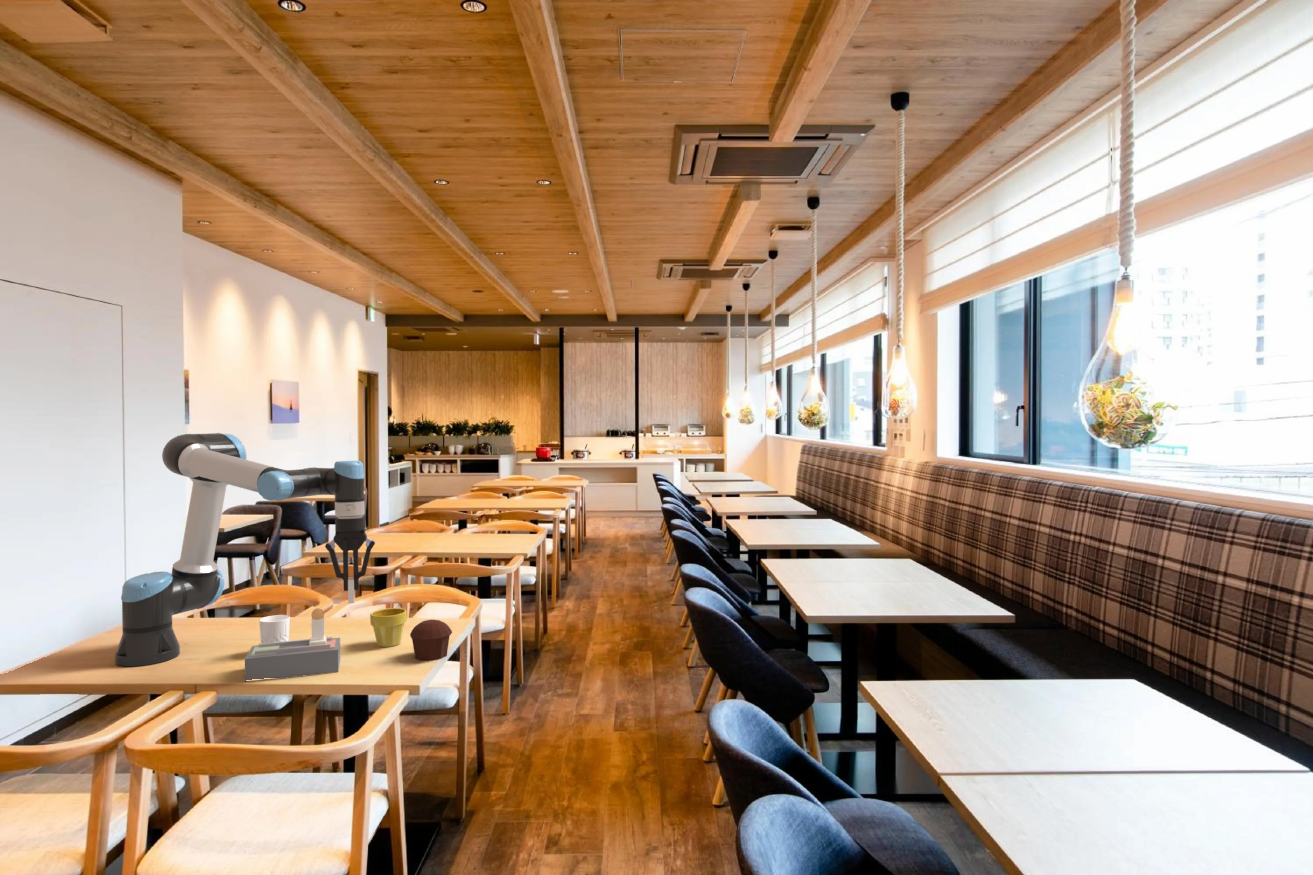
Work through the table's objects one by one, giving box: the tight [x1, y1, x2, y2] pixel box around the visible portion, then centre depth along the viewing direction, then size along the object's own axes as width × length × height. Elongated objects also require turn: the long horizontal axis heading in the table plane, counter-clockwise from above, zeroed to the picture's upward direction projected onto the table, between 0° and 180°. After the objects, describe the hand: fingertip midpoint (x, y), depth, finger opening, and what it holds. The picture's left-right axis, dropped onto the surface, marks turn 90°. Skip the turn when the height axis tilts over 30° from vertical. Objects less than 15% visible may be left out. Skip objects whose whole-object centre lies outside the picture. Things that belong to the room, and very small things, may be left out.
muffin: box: [409, 619, 453, 662], centre depth 210 cm, size 12×11×10 cm
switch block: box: [244, 636, 341, 681], centre depth 198 cm, size 12×22×7 cm, turn 111°
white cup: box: [259, 614, 291, 644], centre depth 214 cm, size 8×8×10 cm
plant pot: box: [369, 607, 408, 648], centre depth 222 cm, size 10×10×10 cm
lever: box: [309, 607, 327, 646], centre depth 200 cm, size 5×4×10 cm
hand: (351, 602), depth 203 cm, fingers closed
